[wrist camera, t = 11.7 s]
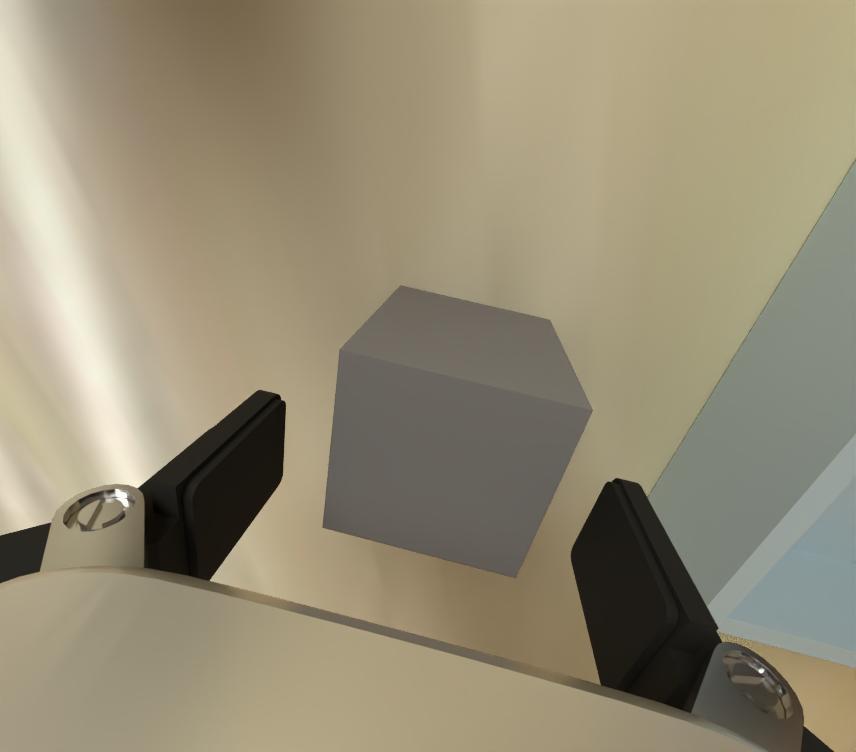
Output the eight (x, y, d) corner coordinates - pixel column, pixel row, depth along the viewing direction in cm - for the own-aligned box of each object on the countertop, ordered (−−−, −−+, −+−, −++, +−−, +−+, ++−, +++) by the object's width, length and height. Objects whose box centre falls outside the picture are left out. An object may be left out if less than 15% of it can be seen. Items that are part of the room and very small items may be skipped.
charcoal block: (401, 285, 15) (339, 349, 9) (549, 319, 15) (592, 410, 9) (380, 410, 18) (322, 527, 12) (506, 441, 18) (515, 577, 11)
